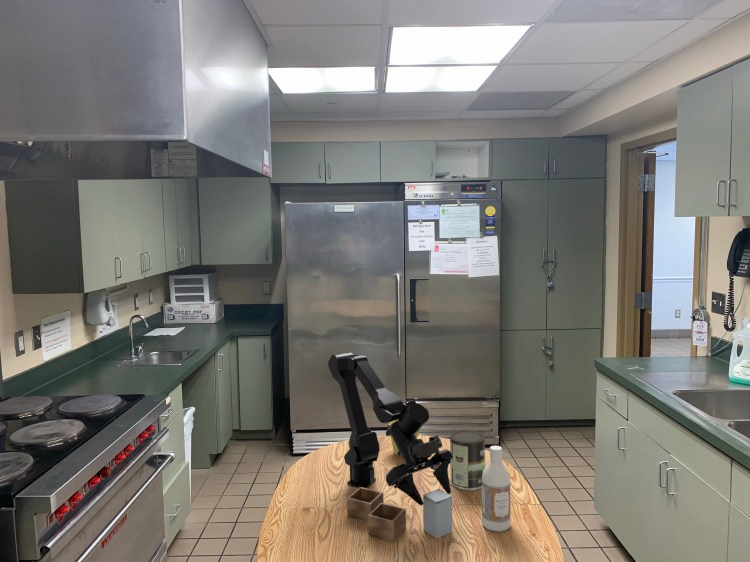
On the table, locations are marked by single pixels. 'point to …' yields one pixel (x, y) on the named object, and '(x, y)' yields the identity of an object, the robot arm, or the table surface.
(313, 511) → the table surface
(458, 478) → the coffee can
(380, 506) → the box
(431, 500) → the pale grey square pillar
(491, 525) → the bath foam
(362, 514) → the box
